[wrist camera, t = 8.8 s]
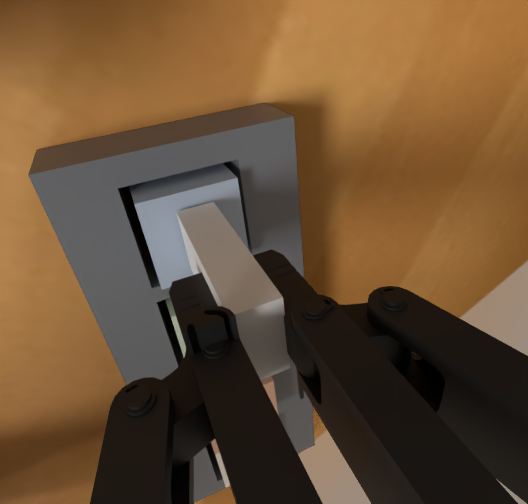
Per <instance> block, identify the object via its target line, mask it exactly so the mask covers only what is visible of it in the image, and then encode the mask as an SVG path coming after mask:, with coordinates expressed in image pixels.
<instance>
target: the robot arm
mask: <svg viewBox="0 0 528 504" xmlns="http://www.w3.org/2000/svg"><path fill="white" fill-rule="evenodd" d="M176 213H177V217H178V221H179V225H180V228H181V232H182V236H183V240H184V244H185V248H186V251H187V255H188V259H189V263H190V267H191V270H192V272H193V275H192V276H189V277H186V278H182V279H179V280H176V281H173V282H172V284H171V287H170V290H169V295H170V298H171V302H172V305H173V308H174V311H175V314H176V318H177V321H178V324H179V327H180V330H181V333H182V336H183V340H184V343H185V346H186V353H185V357H184V359H183V361H182V363H181V364H180V365H179V366H178V368H177V369H175V370H174V371H173V372H172V373H171V374H169V375H168V376H166V377H165V378H164V379H162V380H160V379H157V378H154V377H148V378H141V379H138V380H135V381H132V382H131V383H129V384H128V385H126V386H125V387H123V388H122V389H121V390H120V392H119V393H118V394H117V395H116V396H115V397H114V400H113V402H112V405H111V407H110V411H109V416H108V421H107V426H106V430H105V435H104V440H103V445H102V449H101V454H100V459H99V464H98V468H97V473H96V478H95V482H94V487H93V492H92V497H91V501H90V504H194V456H195V455H197V454H198V453H199V452H200V451H201V450H202V449H204V448H205V447H206V446H207V445H208V444H209V443H211V442H212V441H213V440H214V439H215V440H216V443H217V446H218V449H219V452H220V455H221V458H222V461H223V464H224V467H225V471H226V474H227V477H228V480H229V483H230V486H231V489H232V492H233V495H234V498H235V502H236V504H322V502H321V500H320V498H319V496H318V494H317V492H316V490H315V488H314V486H313V484H312V482H311V480H310V478H309V476H308V474H307V472H306V470H305V468H304V466H303V464H302V462H301V460H300V458H299V456H298V454H297V452H296V450H295V448H294V446H293V444H292V442H291V440H290V438H289V436H288V434H287V432H286V430H285V428H284V426H283V424H282V422H281V420H280V418H279V416H278V414H277V412H276V410H275V408H274V406H273V404H272V402H271V400H270V398H269V396H268V394H267V392H266V390H265V388H264V386H263V384H262V382H261V380H263V379H265V378H268V377H270V376H273V375H275V374H277V373H280V372H282V371H285V370H287V369H290V359H289V356H290V358H291V360H292V361H293V363H294V364H295V366H296V371H297V382H298V393H299V396H300V399H303V398H304V391H305V393H306V395H307V396H308V398H309V400H310V402H311V403H312V405H313V407H314V408H315V410H316V412H317V413H318V415H319V417H320V418H321V420H322V422H323V423H324V425H325V427H326V428H327V430H328V432H329V433H330V435H331V436H332V438H333V440H334V442H335V443H336V445H337V446H338V448H339V450H340V452H341V453H342V455H343V457H344V458H345V460H346V461H347V463H348V465H349V467H350V468H351V470H352V471H353V473H354V475H355V477H356V478H357V480H358V482H359V483H360V485H361V487H362V488H363V490H364V492H365V493H366V495H367V497H368V498H369V500H370V502H371V504H518V503H517V502H516V501H515V500H514V499H513V498H512V497H511V495H510V494H509V493H508V492H507V491H506V490H505V489H504V488H503V486H502V485H501V484H500V483H499V482H498V481H500V482H501V483H503V485H505V486H506V487H507V488H508V489H510V490H511V491H512V492H513V493H515V494H516V495H517V496H518V497H520V498H521V499H522V500H523V501H525V502H526V503H527V504H528V356H527V355H525V354H523V353H521V352H519V351H517V350H516V349H514V348H512V347H510V346H508V345H507V344H505V343H503V342H501V341H499V340H497V339H496V338H494V337H492V336H490V335H488V334H487V333H485V332H483V331H481V330H479V329H477V328H476V327H474V326H472V325H470V324H468V323H467V322H465V321H463V320H461V319H459V318H458V317H456V316H454V315H452V314H450V313H448V312H447V311H445V310H443V309H441V308H439V307H438V306H436V305H434V304H432V303H430V302H428V301H427V300H425V299H423V298H421V297H419V296H418V295H416V294H414V293H412V292H410V291H408V290H406V289H403V288H400V287H393V286H387V287H380V288H378V289H376V290H374V291H373V292H372V293H371V294H370V295H369V298H368V303H362V304H353V305H339V304H338V303H337V302H336V301H334V300H333V299H332V298H330V297H327V296H324V295H318V294H317V293H316V292H315V291H314V290H313V288H312V287H311V286H310V285H309V284H308V283H307V281H306V280H305V279H304V278H303V277H302V276H301V275H300V273H299V272H298V271H296V269H295V268H294V266H293V265H291V263H290V262H289V261H288V259H287V258H286V257H285V256H284V255H283V254H281V253H279V252H277V251H274V250H272V249H271V250H268V251H265V252H261V253H258V254H255V255H252V254H251V253H250V251H249V250H248V249H247V247H246V246H245V244H244V243H243V242H242V240H241V239H240V238H239V236H238V235H237V233H236V232H235V231H234V229H233V228H232V227H231V225H230V224H229V222H228V221H227V220H226V218H225V217H224V216H223V214H222V213H221V211H220V210H219V209H218V207H217V206H216V205H215V203H214V202H211V203H207V204H203V205H200V206H196V207H192V208H189V209H185V210H181V211H177V212H176ZM413 352H414V353H413ZM416 354H417V355H416ZM303 390H304V391H303ZM495 478H496V479H497V480H498V481H497V480H496V479H495Z"/></svg>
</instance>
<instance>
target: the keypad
mask: <svg viewBox="0 0 528 504" xmlns="http://www.w3.org/2000/svg"><path fill="white" fill-rule="evenodd" d="M220 163H223V164H224V165H225V166H226V167H227V168H228V169H229V170H230V171H231V172H232V173H233V174H234V175H235V176H236V177H237V178H238V184H239V191H240V197H241V204H242V210H243V217H244V223H245V230H246V236H247V243H248V249H249V251H250V253H251V254H252V255H255V254H258V253H261V252H265V251H268V250H271V249H272V250H274V251H277V252H279V253H281V254H283V255H284V256H285V257H286V258H287V259H288V261H289V262H290V263H291V265H293V266H294V268H295V269H296V271H298V272H299V273H300V275H301V276H302V277H303V278H304V268H303V253H302V237H301V221H300V205H299V189H298V173H297V157H296V141H295V125H294V116H293V115H290V114H288V113H286V112H284V111H281V110H279V109H277V108H275V107H272V106H270V105H268V104H266V103H261V104H256V105H251V106H246V107H242V108H237V109H232V110H227V111H222V112H217V113H213V114H208V115H203V116H198V117H193V118H188V119H184V120H179V121H174V122H169V123H164V124H159V125H155V126H150V127H145V128H140V129H135V130H130V131H126V132H121V133H116V134H111V135H106V136H101V137H97V138H92V139H87V140H82V141H77V142H72V143H68V144H63V145H58V146H53V147H48V148H43V149H39V150H36V153H35V156H34V159H33V162H32V165H31V168H30V172H29V177H30V180H31V182H32V184H33V186H34V188H35V190H36V192H37V195H38V197H39V199H40V201H41V203H42V205H43V207H44V209H45V212H46V214H47V216H48V218H49V220H50V222H51V224H52V227H53V229H54V231H55V233H56V235H57V237H58V239H59V241H60V244H61V246H62V248H63V250H64V252H65V254H66V256H67V259H68V261H69V263H70V265H71V267H72V269H73V271H74V274H75V276H76V278H77V280H78V282H79V284H80V286H81V288H82V291H83V293H84V295H85V297H86V299H87V301H88V303H89V306H90V308H91V310H92V312H93V314H94V316H95V318H96V320H97V323H98V325H99V327H100V329H101V331H102V333H103V335H104V338H105V340H106V342H107V344H108V346H109V348H110V350H111V353H112V355H113V357H114V359H115V361H116V363H117V365H118V367H119V370H120V372H121V374H122V376H123V378H124V380H125V382H126V385H128V384H129V383H131V382H132V381H135V380H138V379H141V378H148V377H154V378H157V379H160V380H162V379H164V378H165V377H166V376H168V375H169V374H171V373H172V372H173V371H174V370H175V369H177V368H178V366H179V365H180V364H181V363H182V361H183V359H184V357H183V353H182V350H181V347H180V344H179V341H178V338H177V335H176V332H175V331H173V332H170V333H169V331H168V328H167V325H166V322H165V319H164V316H163V313H162V310H161V307H160V304H159V301H162V300H165V299H168V298H170V295H169V290H170V287H169V288H166V289H163V290H162V288H161V285H160V282H159V279H158V276H157V273H156V270H155V267H154V264H153V261H152V258H151V254H150V252H147V253H144V254H142V251H141V248H140V245H139V242H138V239H137V236H136V233H135V230H134V227H133V224H132V221H131V218H130V215H129V212H128V209H127V206H126V203H125V200H124V197H123V195H122V192H121V189H120V188H122V187H126V186H130V185H134V184H138V183H142V182H146V181H151V180H155V179H159V178H163V177H167V176H171V175H175V174H179V173H183V172H187V171H192V170H196V169H200V168H204V167H208V166H212V165H216V164H220ZM289 359H290V369H287V370H285V371H282V372H280V373H277V374H275V375H273V376H271V377H272V379H273V381H274V388H275V395H276V402H277V408H278V415H279V418H280V420H281V422H282V424H283V426H284V428H285V430H286V432H287V434H288V436H289V438H290V440H291V442H292V444H293V446H294V448H295V450H296V452H297V453H299V452H301V451H303V450H305V449H307V448H309V447H311V446H314V444H315V443H314V427H313V411H312V403H311V402H310V400H309V398H308V396H307V395H306V393H305V391H304V390H303V391H304V398H303V399H300V396H299V393H298V382H297V371H296V366H295V364H294V363H293V361H292V360H291V358H290V356H289ZM224 488H226V487H225V483H224V480H223V477H222V474H221V471H220V468H219V465H218V462H217V459H216V456H215V453H214V450H213V447H212V444H211V443H209V444H208V445H207V446H206V447H205V448H204V449H202V450H201V451H200V452H199V453H198V454H197V455H195V456H194V502H197V501H199V500H201V499H203V498H205V497H207V496H209V495H211V494H213V493H215V492H217V491H220V490H222V489H224Z"/></svg>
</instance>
